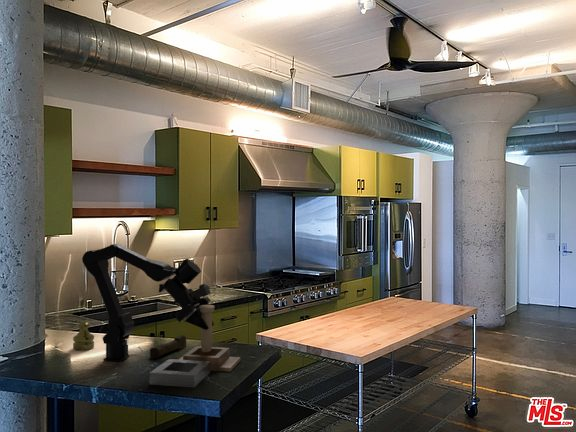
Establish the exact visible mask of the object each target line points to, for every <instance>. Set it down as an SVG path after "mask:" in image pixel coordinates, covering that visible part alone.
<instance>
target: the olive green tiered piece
mask: <svg viewBox="0 0 576 432" xmlns="http://www.w3.org/2000/svg"><path fill="white" fill-rule="evenodd" d="M91 325H92V324H91V322H87V321H80V322H78V323H77V324H76V327H77V328H78V329H79V331H78V333H76V334H75V335H74V336H73V337H72V341H73V342H72V345H73V346H72V349H73V350H74V351H82V352H83V351H84V352H85V351H89V350H92V349H93V348H95V341H94V339H95V335H94V334H93V333H91V332H90V331H89V330H88V329H89V328H90V327H91Z"/></svg>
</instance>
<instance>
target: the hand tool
mask: <svg viewBox="0 0 576 432" xmlns="http://www.w3.org/2000/svg"><path fill="white" fill-rule="evenodd" d="M173 339H174V340H172V341H168V342H167V343H164V344H161V345H158V346H156V347H151V348H150V349H149V356H150V358H151V359H155V360H156V359H159V358H161V357H162V356H163V355H167V354H169V353H170V352H173V351H176V350H178V349H179V350H182V349H184V348H185V347H186V346H187V337H186V336H185V335H184V334H183V335H182V334H181V335H179V336H176V337H174V338H173ZM183 347H184V348H183ZM181 348H182V349H181Z"/></svg>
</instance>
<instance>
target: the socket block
mask: <svg viewBox="0 0 576 432" xmlns="http://www.w3.org/2000/svg"><path fill="white" fill-rule="evenodd" d="M210 373H211V370H210V361H193V360H178V359H176V358H175V359H173V358H168V359H167V360H165V361H164V362H163V363H161V364H160V365H158V366H157V367H156V368H154V369H153V370H151V371H149V385H153V386H164V387H165V386H167V387H181V388H193V389H194V388H196V387H197V386H198V385H199V384H200V383H201V382H202V381H203V380H204V379H205V378H206V377H207V376H208V375H210Z"/></svg>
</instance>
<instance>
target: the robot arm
mask: <svg viewBox="0 0 576 432" xmlns="http://www.w3.org/2000/svg"><path fill="white" fill-rule="evenodd" d="M113 258H117V259H119V260H121V261H123V262H125V263H127V264H129V265H132V266H133V267H135V268H136V269H137V268H138V269H139V270H141V271H143V273H144V274H145V275H146V276H147V277H149V279H151V280H152V281H154V282H157V283H158V282H162V281H165V280H166V281H165V282H164V283H160V284H159V285H158V287H159V288H158V292H159V293H162V292H165V291H166V292H167V293H168V295H169V296H170V297H171V298H172V300H174V301H173V303H174V305H178V306H179V307H180V309H179V310H178V312H176V314H175V319H176V321H177V322H178V323H179V324H180V323H182V322H183V321H184V322H185V323H188V324H191V325H194V326H196V327H197V328H200V329H201V328H202V329H205V330H207V329H208V328H209V327H208V326H207V324H206V323H205V321H204V320H203V318H202V313H201V312H200V308H199V307H200V306H202V305H210V302H211V301H212V300H211V299H210V297H208V295H210V294H211V290H210V289H211V287H210V286H209V284H206V283H205V282H204V283H202V284H200V285H199V286H198V288H197V289H194V290H193V289H192V288H188V287H187V286H186V285H185V284H190V283H192V281H194V280H195V279H196V278H197V277H198V276H199V274H200V273H201V272H202V270H201V268H200V266H199V265H198V264H197V263H195V262H194V261H191V260H190V259H189V258H185V259H184V260H183V261H181V264H179V265H178V266H177V267H174V266H172V265H170V264H169V263H166V262H164V261H160V260H156V259H150V258H148V257H146V256H144V255H142V254H139V253H138V252H135V251H133V250H132V249H129V248H127V247H125V246H123V245H122V244H121V243H113V244H110V245H108V246H105V247H101V248H100V249H99V248H98V249H93V250H88V251H85V253H83V256H82V258H81V259H82V260H81V261H82V264H83V265H84V267H85V268H86V271H87V272H88V273H89V274H91V275H92V276H93V277H94V280H95V282H96V285H97V288H98V291H99V293H100V296H101V299H102V301H103V304H104V307H105V310H106V312H107V314H108V318H107V319H108V320H107V328H108V331H107V333H105V334H104V335H103V336H102V339H101V340H102V342H103V344H105V357H104V358H103V361H107V362H108V361H109V362H122V361H123V360H126V359H127V358H128V357H130V354H129V345H128V340H129V338H130V335H131V334H132V333H133V331H134V328H135V323H136V322H135V321H134V320H133V316H132V314H131V312H126V311H125V310H123V308H122V305H121V303H120V300H119V298H118V294H117V293H116V289H115V287H114V283H113V282H112V278H111V276H110V273H109V267H110V266H109V265H110V263H109V262H110V261H109V260H111V259H113ZM172 276H173V277H172ZM185 318H186V319H185ZM214 323H215V322H214V321H213V320H212V327H213V326H214V325H215V324H214Z"/></svg>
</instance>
